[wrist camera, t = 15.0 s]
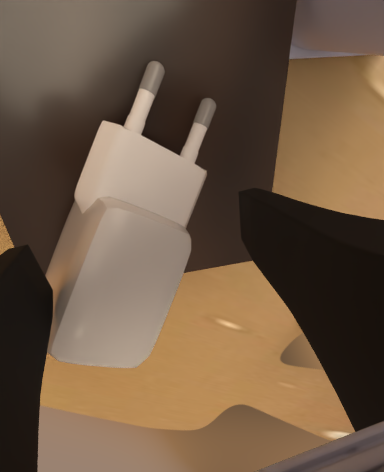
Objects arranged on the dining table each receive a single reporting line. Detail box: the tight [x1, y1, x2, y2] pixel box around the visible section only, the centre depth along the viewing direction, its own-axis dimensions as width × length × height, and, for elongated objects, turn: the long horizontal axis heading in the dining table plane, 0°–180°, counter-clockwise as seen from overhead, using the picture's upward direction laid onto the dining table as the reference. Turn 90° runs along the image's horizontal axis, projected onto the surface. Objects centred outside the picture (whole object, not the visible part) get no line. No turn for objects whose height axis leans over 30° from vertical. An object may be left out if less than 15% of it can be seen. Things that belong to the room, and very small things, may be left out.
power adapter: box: [45, 61, 216, 368], centre depth 13 cm, size 11×5×6 cm, turn 149°
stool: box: [0, 0, 297, 275], centre depth 17 cm, size 14×14×5 cm
